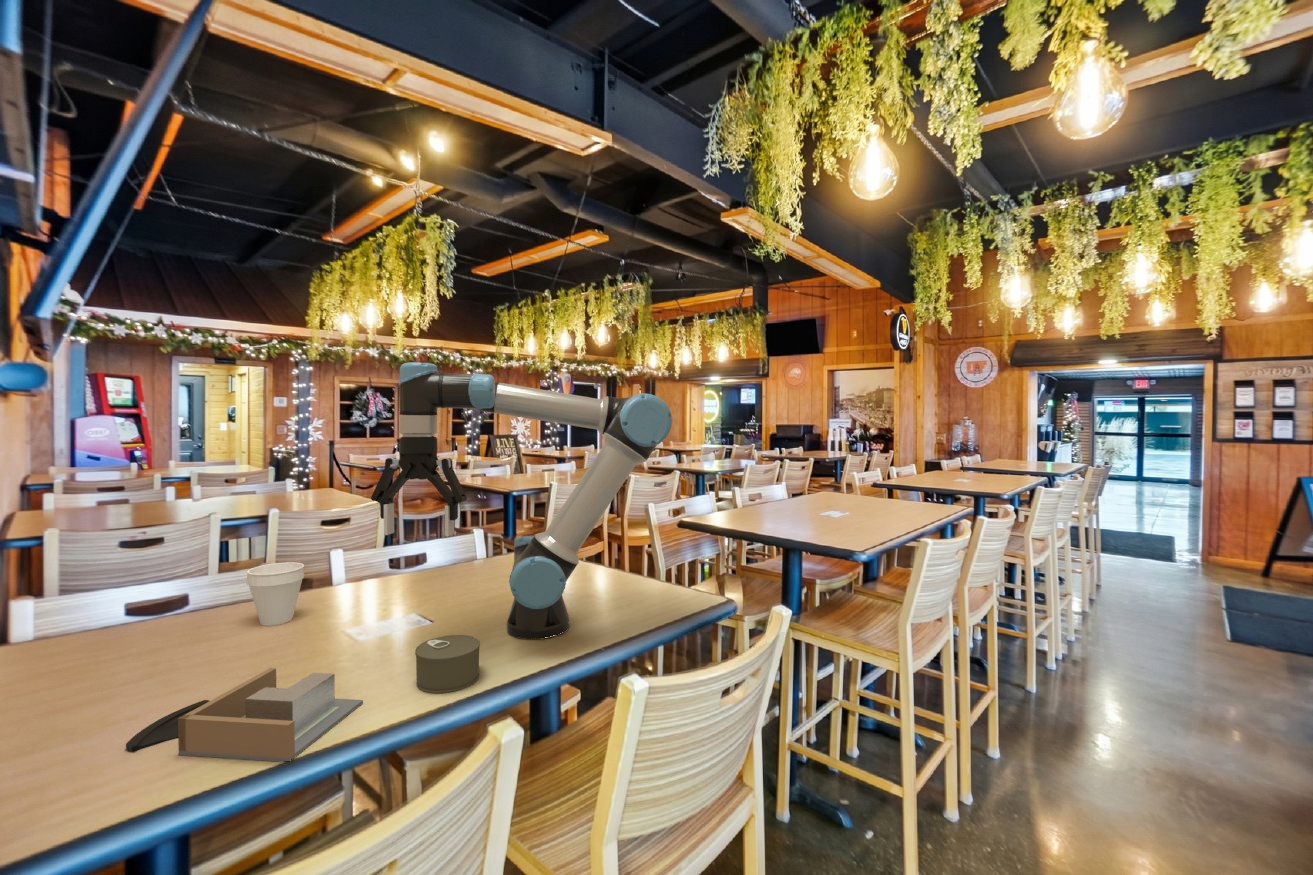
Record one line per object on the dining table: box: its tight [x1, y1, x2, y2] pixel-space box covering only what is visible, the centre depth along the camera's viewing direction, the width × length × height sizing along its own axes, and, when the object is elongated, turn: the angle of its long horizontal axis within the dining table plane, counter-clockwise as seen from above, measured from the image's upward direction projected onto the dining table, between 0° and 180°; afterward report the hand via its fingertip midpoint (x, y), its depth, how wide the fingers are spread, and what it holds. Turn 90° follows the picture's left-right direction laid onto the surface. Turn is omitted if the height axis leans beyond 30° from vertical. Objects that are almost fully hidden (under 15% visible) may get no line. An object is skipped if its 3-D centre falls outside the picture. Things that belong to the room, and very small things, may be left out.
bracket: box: [246, 672, 336, 737], centre depth 95 cm, size 10×8×6 cm
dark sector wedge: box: [125, 699, 210, 753], centre depth 94 cm, size 8×14×2 cm, turn 158°
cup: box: [246, 561, 306, 627], centre depth 145 cm, size 12×12×14 cm
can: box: [414, 634, 481, 695], centre depth 112 cm, size 12×12×7 cm
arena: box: [177, 667, 364, 762], centre depth 94 cm, size 18×18×6 cm
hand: (419, 534), depth 122 cm, fingers open, 13 cm apart
